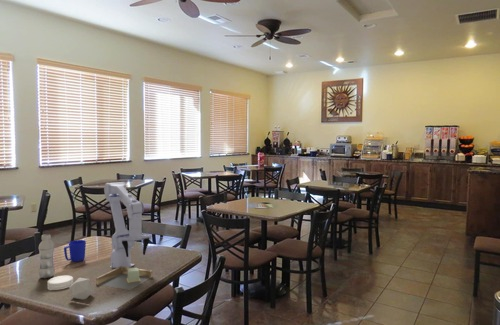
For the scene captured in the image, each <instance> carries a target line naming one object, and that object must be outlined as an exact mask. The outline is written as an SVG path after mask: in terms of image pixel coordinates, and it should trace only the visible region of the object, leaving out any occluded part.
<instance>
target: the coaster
mask: <svg viewBox="0 0 500 325" xmlns="http://www.w3.org/2000/svg"><path fill="white" fill-rule="evenodd" d="M73 283H74V277H73V276H72V275H68V274H67V275H58V276H54V277H52V278H51V277H50V279H48V280H47V285H46V286H47V291H50V292H51V291H55V290H58V291H59V290H64V289H67V288H69V287H70V286H71V285H72V284H73Z"/></svg>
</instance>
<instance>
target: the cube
mask: <svg viewBox="0 0 500 325" xmlns="http://www.w3.org/2000/svg"><path fill="white" fill-rule="evenodd" d="M130 268H131V269H128V281H129V282H132V281H139V269H140V268H138V267H130Z"/></svg>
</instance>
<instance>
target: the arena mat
mask: <svg viewBox="0 0 500 325" xmlns="http://www.w3.org/2000/svg"><path fill="white" fill-rule="evenodd" d="M150 279H151V278H150V277H143V276H139V281H132V282H129V281H128V274H124V273H120V274H118V275H116V276H114V277H112V278H110V279H108V280H106V281H104V282H102V283H100V284H98V285H97V284H96V283H95V285H97V286H102V287H110V288H116V289H121V290H127V291H131V290H133V289H135V288H136V287H138V286H140V285H141V284H143V283H145V282H146V281H149V280H150Z"/></svg>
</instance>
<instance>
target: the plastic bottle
mask: <svg viewBox="0 0 500 325" xmlns="http://www.w3.org/2000/svg"><path fill="white" fill-rule="evenodd" d="M40 238H41V241H40V243H39V245H38V251H39V270H38V275H39V277H40V278H41V279H49V278H51V277H52V278H53V276H54V275H55V273H56V272H55V270H56V269H55V264H54V251H55V250H54V249H55V244H54V242H53V241H52V240H51V239H52V237H51V234H50V233H46V234H42V235H41V237H40Z"/></svg>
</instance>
